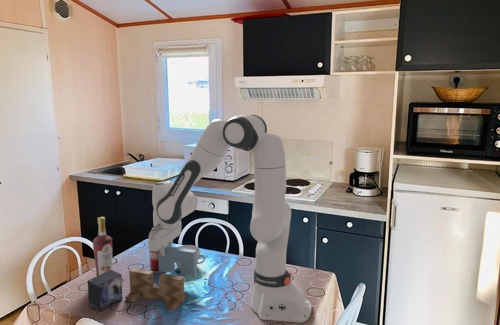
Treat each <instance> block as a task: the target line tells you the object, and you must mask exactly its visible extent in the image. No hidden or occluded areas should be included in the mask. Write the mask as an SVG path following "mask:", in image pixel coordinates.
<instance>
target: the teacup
mask: <svg viewBox="0 0 500 325" xmlns="http://www.w3.org/2000/svg"><path fill="white" fill-rule="evenodd" d="M176 248H184V249H192V250H196V253H197V265H201V264H203V263H204V262H205V261H206V255H205V254H201V249H200V248H199V246H196V245H193V244H185V245H180V246H177V247H176ZM200 258H203V260H201V261H199V260H200ZM175 265H177V267H179V269H180V270H181V264H180V262H178V261H175Z"/></svg>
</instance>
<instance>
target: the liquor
mask: <svg viewBox="0 0 500 325" xmlns="http://www.w3.org/2000/svg"><path fill="white" fill-rule="evenodd" d="M97 224H98V229H97V230H98V235H97V236H96V237H95V238H94V239H93V240H92V247H93V255H94V264H95V265H94V266H95V272H96V277H97V276H99V275H101V274H103V273H105V272H108V271H110V270H113V237H111V236H110V235H108V234H107V233H106V232H107V231H106V226H105V225H106V217H105V216H100V217H97Z"/></svg>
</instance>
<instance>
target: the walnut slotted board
mask: <svg viewBox="0 0 500 325" xmlns="http://www.w3.org/2000/svg"><path fill="white" fill-rule="evenodd" d="M128 274H129V275H128V276H129V292H128V294H126V295H125V301H129V302H133V303H135V302H136V301H137V300H139V299H140V298H145V299H150V300H155V301H159V302H165V306H164V307H165V309H168V310H172V311H176V310H177V309H178V308H179V307H180V306H182V305H183V304H184V303H185V300H186V299H187V298H188V297H189V293H188V292H186V291H185V277H184V276H181V275H176V274H175V275H174V274H168V273H165V272H163V273H162V272H161V274H160V275H159V276H158V280H159V282H158V283H155V282H154V281H155V279H154V278H155V277H154V276H155V275H154V272H153V271H151V270H148V269H147V270H146V269H141V268H135V267H132V268H130V269H129V270H128Z"/></svg>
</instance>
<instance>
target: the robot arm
mask: <svg viewBox="0 0 500 325" xmlns="http://www.w3.org/2000/svg"><path fill="white" fill-rule="evenodd" d="M267 126H268V125H267V123H266V121H265V120H264V119H263V118H262V117H261V116H258V115H256V114H241V115H236V116H232V117H231V118H229V119H228V120H224V119H222V118H221V119H219V118H217V119H213V120H211V121H210V123H209V124H208V125H207V126H206V128H205V129H204V130H203V132H202V134H201V135H200V137H199V139H198V141H197V143H196V144H195V147H194V148H193V151H192V153H191V154H190V156H189V158H188V160H187V161H186V163H185V164H184V166H183V167H182V169H181V171H180V172H179V174H178V175H177V177H176V179H175V180H174V181H172V180H163V181H159V182H157V183H155V184H153V186H152V192H151V193H152V196H151V199H152V200H151V202H152V207H153V211H152V217H153V218H152V219H153V227H152V228H151V230H150V232H149V234H148V242H147V243H148V244H147V245H148V247H147V248H148V251H149V250H150V251H158V250H160V251H161V255H162V256H165V255H166V254H167V253H166V252H167V251H166V250H165V245H166V246H169V247H173V242H174V240H175V239H176V238H177V237H179V236H180V235H181V233H182V219H183V218H185V217H186V216H188V215H189V214H191V213H193V212H195V210H196V209H197V207H198V197H197V196H196V194H195V193H194V192H193V191H191V190H192V188H193V187H194V185H195V184H196V183H197V182H198V181H199V180H201V179H202V178H203V177H205V176H207V175H208V174H210V173H212V172H214V170H215V169H217V168H218V167H219V166H220V164H221V163H222V161H224V158H225V156H226V154H227V152H228V150H229V149H230V148H231V147H233V148H235V149H238V150H241V151H245V152H251V154H252V156H253V173H254V175H253V176H254V177H253V178H254V179H253V180H254V193H253V194H254V195H253V202H252V211H251V212H252V213H251V214H252V215H251V220H250V225H249V231H250V234H251V237H253V238H254V240H255V241H257V244H256V246H255V247H256V248H255V267H254V269H253V270H254V271H253V284H254V286H253V293H252V297H251V300H250V304H249V307H250V308H251V310H252V311H253V312H255V313H256V314H257V315H258V317H259V319H261V320H263V321H276V322H287V323H288V322H289V323H290V322H291V323H298V324H299V323H305V322H306V321H307V320H308V319H310V316H311V314H312V310H313V308H312V303H311V302H310V300H308V299H306V295H305V294H306V293H305V291H304V290H303V288H301V287H300V286H299V285H297V284H296V282H294V281H293V280H292V271H291V270H290V271H288V270H287V269H286V268H287V248H288V241H289V238H290V237H289V234H290V228H291V218H292V208H291V205H290V204H289V203H288V201H285V199H286V191H287V168H286V167H287V166H286V165H287V163H286V153H285V148H284V144H283V140H282V137H280V136H279V135H277V134H274V133H268V127H267Z"/></svg>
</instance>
